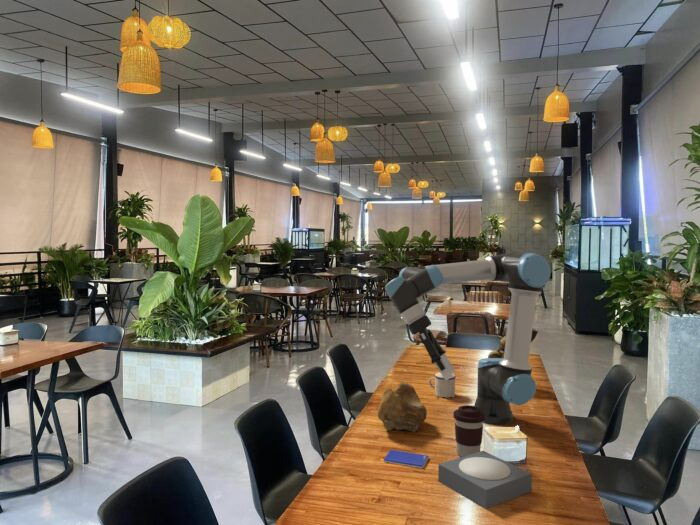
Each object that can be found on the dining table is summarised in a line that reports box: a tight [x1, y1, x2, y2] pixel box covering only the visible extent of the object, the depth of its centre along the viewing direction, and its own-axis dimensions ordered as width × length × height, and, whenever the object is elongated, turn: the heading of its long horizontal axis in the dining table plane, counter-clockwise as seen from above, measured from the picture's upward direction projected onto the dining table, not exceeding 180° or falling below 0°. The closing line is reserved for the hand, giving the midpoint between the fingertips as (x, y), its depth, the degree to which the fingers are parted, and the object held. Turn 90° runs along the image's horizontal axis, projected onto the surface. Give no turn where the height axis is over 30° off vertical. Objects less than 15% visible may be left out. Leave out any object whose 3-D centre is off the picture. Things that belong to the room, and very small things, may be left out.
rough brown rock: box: [377, 381, 428, 433], centre depth 193 cm, size 23×17×15 cm
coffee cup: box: [452, 405, 485, 457], centre depth 169 cm, size 10×10×15 cm
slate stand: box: [437, 450, 533, 509], centre depth 148 cm, size 18×18×5 cm
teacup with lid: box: [428, 371, 457, 399], centre depth 232 cm, size 12×9×12 cm
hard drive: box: [383, 449, 429, 469], centre depth 165 cm, size 2×8×12 cm
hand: (450, 375), depth 172 cm, fingers open, 13 cm apart
